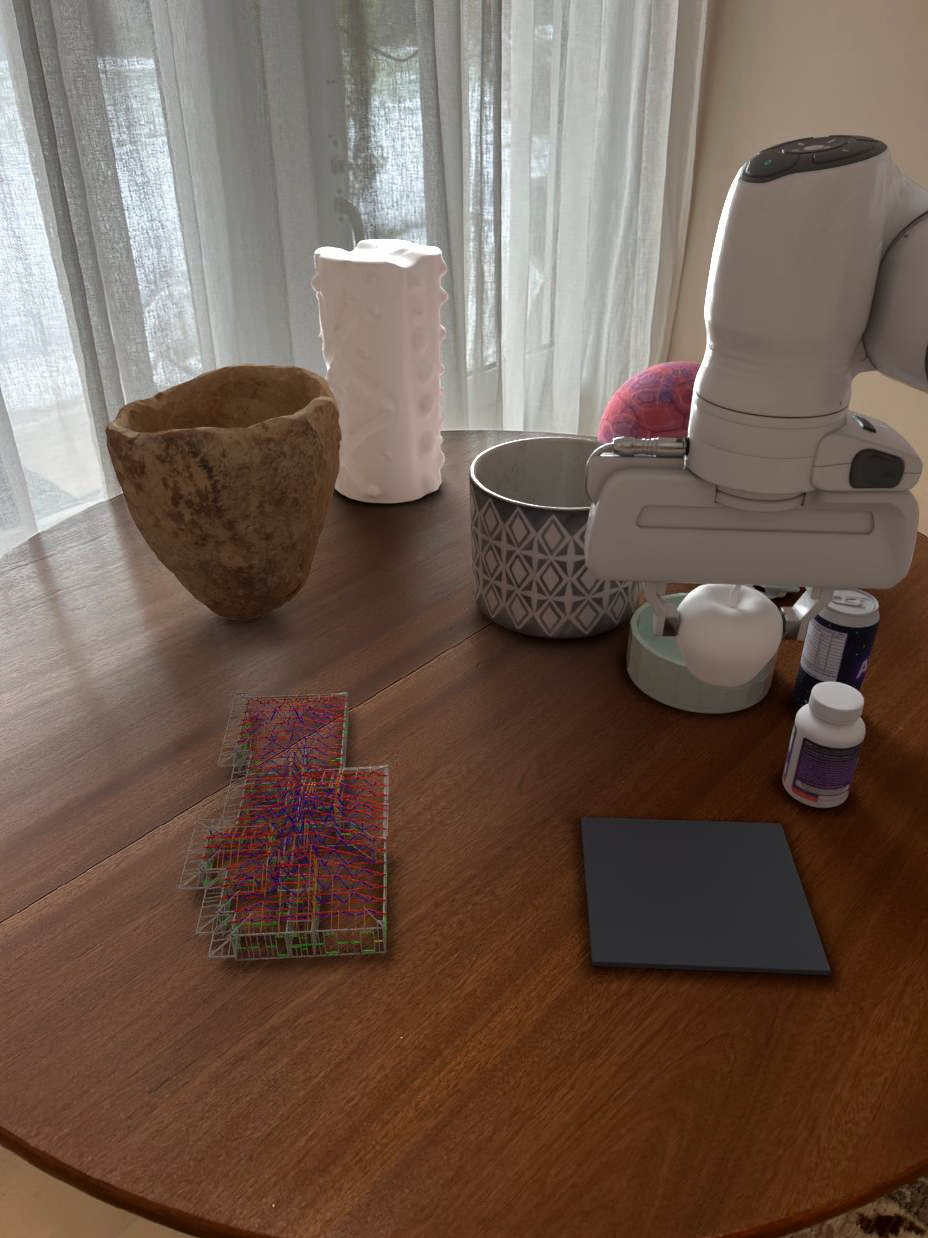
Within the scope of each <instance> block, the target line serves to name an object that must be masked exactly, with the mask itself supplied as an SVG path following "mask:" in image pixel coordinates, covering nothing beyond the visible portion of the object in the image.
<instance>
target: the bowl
mask: <svg viewBox="0 0 928 1238" xmlns="http://www.w3.org/2000/svg"><path fill="white" fill-rule="evenodd" d="M338 421H339V410H338V406H337V403H336V400H335V397H334V395H333V393H332V392H331V390H330V387H329V385H328V382H327V381H326V380H325V377H323V376H321V375H319V374H318V373H315V372H313V371H311V370H309V369H306V368H303V367H299V366H294V365H288V366H287V365H286V366H280V365H274V364H255V363H249V362H248V363H244V364H243V363H241V364H236V365H227V366H223V367H220V368H217V369H214V370H210V371H206V372H203V373H201V374H198V375H197V376H195V377H193V378H191V379H190V380H187V381H184V382H182V383H179V384H176V385H173V386H171V387H168V388H167V389H165V390H163V391H159V392H158V393H156V394H155V395H153V396H150V397H148V398H143V399H136V400H133V401H131V402H128V403H126V404H125V405H123V406H122V407H120V408H119V409H118V412H117V414H116V417H115V418H114V419H113V420H111V421H109V422H108V423H107V425H106V427H105V430H104V431H105V436H106V447H107V451H108V453H109V454H108V455H109V457H110V461H111V465H112V467H113V470H114V473H115V477H116V480H117V482H118V485H119V486H120V489H121V492H122V494H123V497H124V500H125V502H126V505H127V509H128V512H129V514H130V517H131V519H132V520H133V522H134V524H135V526H136V528H137V530H138V532H139V533H140V534H141V535H142V537H143V540H144V541H145V543H146V545H147V546H148V547H149V549H150V550H151V551H152V552H153V553H154V555H155V557H156V559H157V560H158V561H159V562H160V563H161V564H162V565H163V566H164V567H165V568H166V569H167V570H168V571H169V572H171V573H173V575H174V577H175V578H176V579H177V580H178V582H179V583H180V584H181V585H182V586H183V587H184V589H185V590H186V591H187V592H188V593H189V594H190V595H192V597H193V598H194V599H196V600H197V601H199V602H200V603H201V604H203V605H204V606H205V607H206V608H208V609H209V610H210V611H211V612H212V613H214V614H216V615H217V616H219V617H222V618H224V619H227V620H228V619H229V620H233V621H243V622H247V621H250V620H251V619H255V618H258V617H261V616H264V615H267V614H269V613H270V612H272V611H274V610H276V609H280V608H282V607H283V606H284V605H286V604H288V602H291V601H292V600H293V599H294V598H295V597H296V596H297V594H299V592H300V591H302V589H303V588H304V587H305V585H306V583H307V581H308V579H309V577H310V573H311V569H312V566H313V562H314V558H315V556H316V551H317V548H318V544H319V539H320V536H321V534H322V532H323V529H324V525H325V523H326V520H327V517H328V513H329V509H330V507H331V504H332V497H333V495H334V491H335V483H336V480H337V477H338V474H339V468H340V458H339V449H340V441H341V440H342V435H341V429H340V426H339V422H338Z"/></svg>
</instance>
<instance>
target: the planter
mask: <svg viewBox="0 0 928 1238" xmlns="http://www.w3.org/2000/svg"><path fill="white" fill-rule="evenodd" d="M606 444H609V443H606V442H601V441H598V440H595V439H589V438H582V437H568V436H541V437H530V438H522V439H517V440H516V439H515V440H511V441H508V442H504V443H500V444H498V445H495V446H492V447H490V448H488V449H486V450H484V451H482V452H481V453H479V454H478V455H477V456H476V457H475V458H474V459H473V460H472V461H471V463H470V465H469V468H468V478H469V479H468V481H469V512H470V513H469V514H470V515H469V516H470V549H471V553H470V554H471V582H472V583H471V584H472V586H471V587H472V596H473V599H474V602H475V604H476V606H477V607H478V609H479V610H480V611H481V612H482V613H483V615H485V616H486V618H488V619H490V620H491V621H492V622H494V623H496V624H498V625H499V626H501V627H504V628H505V629H508V630H510V631H513V632H516V633H519V634H523V635H526V636H532V637H536V638H537V637H538V638H544V639H557V640H558V639H560V640H563V639H564V640H565V639H580V638H586V637H591V636H596V635H600V634H603V633H607V632H609V631H612V630H614V629H616V628H618V627H619V626H621V625H622V624H624V623H625V622H626V621H628V620H630V618H632V616H633V614H634V612H635V610H636V609H638V605H639V603H640V597H641V592H642V582H634V581H603V580H598V579H596V578H595V577H594V576H593V574H592V573H591V572H590V571H589V569H588V568H587V567H586V563H585V556H584V543H585V534H586V527H587V521H588V516H589V512H590V507H591V503H592V501H591V500H590V499H589V498H588V496H587V493H586V490H585V478H586V466H587V462H588V460H589V458H590V456H591V454H592V453H593V452H594V451H595V450H596V449H598V448H599V447H601V446H603V445H606ZM604 453H612V450H608V451H606V452H604Z"/></svg>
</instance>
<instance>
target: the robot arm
mask: <svg viewBox="0 0 928 1238" xmlns="http://www.w3.org/2000/svg"><path fill="white" fill-rule="evenodd" d="M721 211H722V212H721V215H720V219H719V223H718V227H717V231H716V235H715V240H714V244H713V250H712V255H711V261H710V265H709V266H710V267H709V275H708V279H707V286H706V292H705V293H706V294H705V300H704V310H703V320H704V325H705V332H706V346H705V351H704V356H703V359H702V362H701V363H700V364H701V366H700V368H699V371H698V373H697V376H696V378H695V383H694V390H693V397H692V405H691V412H690V420H689V427H688V437H686V438H652V439H635V438H634V437H618V438H614V439H613V443H609V444H606V445H603V446H601V447H599V448H598V449H596V450H595V451H594V452H593V453H592V454H591V456H590V458H589V460H588V462H587V466H586V478H585V490H586V493H587V496H588V498H589V499H590V500H591V501H592V503H591V507H590V512H589V516H588V521H587V527H586V534H585V543H584V556H585V563H586V567H587V568H588V569H589V571H590V572H591V573H592V574H593V576H594V577H595V578H596V579H598V580H603V581H634V582H642V585H641V587H642V590H643V595H644V597H645V599H646V601H648V602H649V604H650V606H651V608H652V609H653V611H654V612H653V632H654V636H677V626H678V624H679V613H678V611H677V605H676V603H664V601H663V599H662V597H661V596H663V595H666V592H667V586H668V583H669V584H671V583H672V584H701V585H706V584H730V585H743V586H744V585H753V586H759V585H762V586H793V587H798V588H800V587H801V588H805V592H804V593H802V595H801V596H800V597H799V598H798V600H796V602H795V603H794V604H793V605H792V606H780V609H779V612H780V614H781V617H782V620H783V633H782V639H781V641H798V642H805V639H806V635H807V630H808V626H809V621H811V620H812V619H813V618H814V617H815V616H816V615H817V614H818V613H820V612H821V611H822V610H823V609H824V608H825V607H826V606H827V605H828V604H829V603H830V602H831V601H832V597H833V593H834V589H835V588H855V589H859V590H863V589H864V590H891V589H892V588H894V587H895V586H896V585H898V584H899V583H900V582H901V581H903V580H904V579H905V578H906V577H907V575H908V574H909V571H910V568H911V565H912V561H913V557H914V553H915V549H916V544H917V537H918V530H919V523H920V506H919V503H918V500H917V498H916V496H915V495H914V493H913V492H912V491H911V490H912V489H913V488H915V487H916V486H917V485H918V483H919V482H920V479H921V476H922V473H923V468H924V464H923V461H922V458H921V457H920V456H919V454H918V452H917V451H916V450H915V448H914V447H913V446H912V445H911V444H910V442H908V440H907V439H906V438H905V437H904V436H902V435H901V433H899V432H898V431H897V430H896V429H894V428H893V427H892V426H891V425H889V424H888V423H887V422H884V421H883V420H880V419H878V418H875V417H872V416H869V415H866V414H863V413H860V412H858V411H855V410H851V409H849V407H850V403H851V400H852V399H851V398H852V383H853V380H854V379H855V378H856V377H857V376H858V375H860V374H861V373H867V372H877V373H880V375H882V376H884V377H886V378H888V379H890V380H892V381H894V382H897V383H899V384H902V385H904V386H906V387H909V388H912V389H914V390H917V391H919V392H921V393H923V394H926V395H928V189H926V188H925V187H923V186H922V185H920V184H918V183H917V182H915V180H913V179H912V178H910V177H909V176H908V175H907V174H906V173H904V171H902V170H901V168H900V167H899V166H898V165H897V164H896V163H895V162H894V160H893V159H892V155H891V150H890V148H889V146H888V145H887V144H886V143H885V142H883V141H882V140H879V139H876V138H873V137H871V136H866V135H857V134H855V135H854V134H830V135H828V136H817V137H814V136H810V137H803V138H798V139H797V138H796V139H793V140H788V141H785V142H780V143H778V144H775V145H772V146H770V147H767V148H765V149H762V150H761V151H760V150H759V152H758V153H756V154H755V155H753V156H752V157H750V158H749V159H747V160H746V161H745V162H744V163H743V165H742V166H741V167H740V168H739V170H738V172H737V174H736V175H735V178H734V179H733V181H732V183H731V186H730V188H729V190H728V193H727V195H726V199H725V202H724V205H723V208H722V210H721ZM608 450H612V453H604V452H606V451H608Z"/></svg>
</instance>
